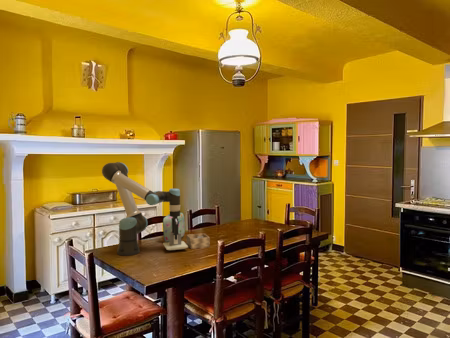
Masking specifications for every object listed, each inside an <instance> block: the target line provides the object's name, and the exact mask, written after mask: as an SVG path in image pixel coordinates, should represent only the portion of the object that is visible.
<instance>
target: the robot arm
mask: <svg viewBox="0 0 450 338" xmlns="http://www.w3.org/2000/svg"><path fill="white" fill-rule="evenodd" d="M101 174H102V176H103V178H104V179H105V180H107V181H109V182H110V183H112V184H114V185H115V186H116V190H117V191H118V192H117V193H118V194H119V197H120V200H121V202H122V205H123V208H124V211H125V215H126V217H124V218H122V219H120V220H119V223H118V231H119V233H118V234H119V236H118V237H119V242H118V245H117V249H116V253H117V255H119V256H123V257H124V256H133V255H134V256H135V255H137V254H139V253H140V252H141V251H140V245H139V243H138V237H137V236H138V234H140V233H143V232H144V231H145V230H146V228H147V227H148V224H149V223H148V219H147V218H146V216H144V215H143V214H142V212H141V211H140V210H139V209H138V206H137V204H136V201H135V198H134V195H136V196H137V197H139V198H140V199H142V200H144V201H145V203H146V204H147V205H148V206H156V205H157V204H160V203H169V206H168V207H169V214H170V216H171V217H173V218H172V233H174V234H173V235H174V244H178V224H179V221H178V218H177V217H178V216H180V213H181V207H182V205H181V191H180V188H169V191H168V190H167V191H164V190H163V191H160V190H156V191H153V190H151V189H149V188H148V187H145V186H144V185H142V184H140V183H139V182H137V181H135V180H133V179H132V178H130V177H129V176H128V174H129V167H128V166H127V165H126V164H125V163H123V162H119V161H117V162H107V163H105V164H104V165H103V166H102V169H101ZM133 194H134V195H133Z"/></svg>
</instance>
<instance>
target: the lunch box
mask: <svg viewBox="0 0 450 338" xmlns="http://www.w3.org/2000/svg"><path fill="white" fill-rule="evenodd" d="M172 218H173V217H171V216H170V213H168V215H166V216H165V217H163V220H162V227H163V238H164V243H168V242H169V233H172ZM177 218H178V221H179V224H178V233H181V239H182V238H183V237H184V236H185V232H186V231H185V230H186V223H185V215H184V213H183V212H180V216H178V217H177Z"/></svg>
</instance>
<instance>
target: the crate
mask: <svg viewBox="0 0 450 338" xmlns="http://www.w3.org/2000/svg"><path fill="white" fill-rule="evenodd" d="M210 242H211V237H210V236H209V235H207V233H194V234H193V233H191V234H190V233H189V234H186V245H187V246H188V248H190V250H193V249H203V248H210V247H211V243H210Z"/></svg>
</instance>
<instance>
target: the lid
mask: <svg viewBox="0 0 450 338" xmlns="http://www.w3.org/2000/svg"><path fill="white" fill-rule="evenodd" d="M173 234H174V233H169V242H163V243H162V245H163V246H164V249H166V250H167V251H176V250H185V249H188V248H189V246H188V245H187V242H185V241H183V240H182V238H181V233H178V244H174V235H173Z"/></svg>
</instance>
